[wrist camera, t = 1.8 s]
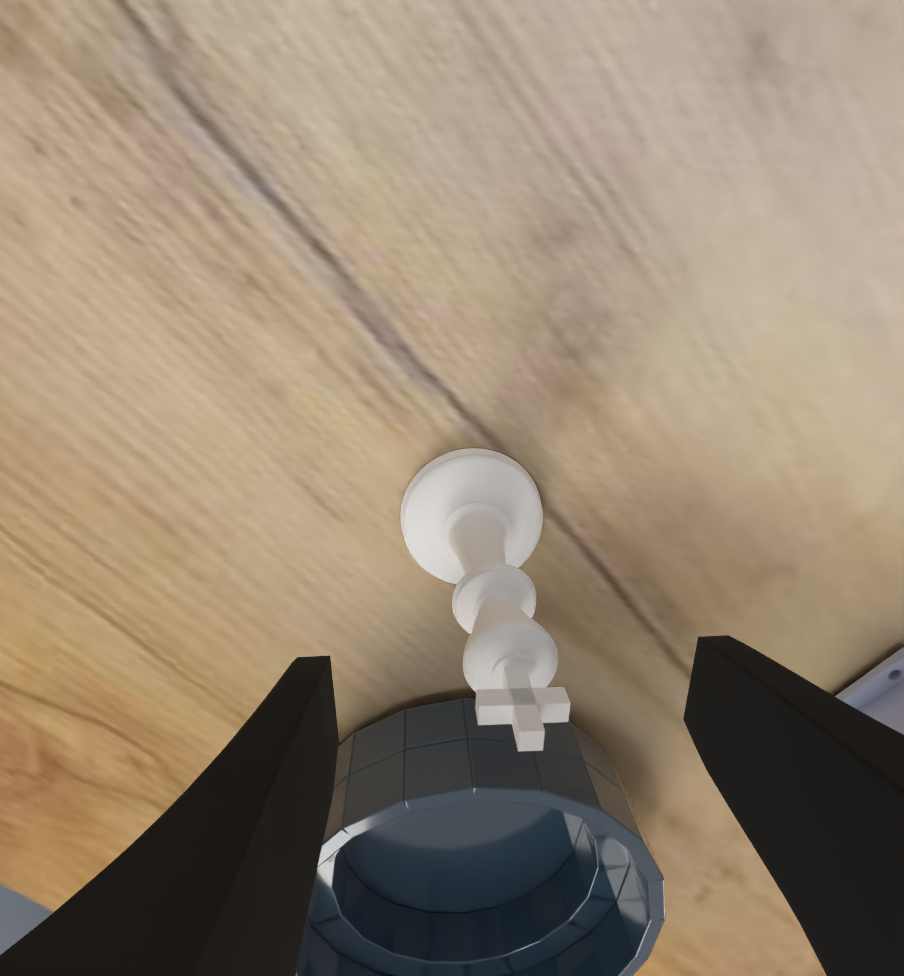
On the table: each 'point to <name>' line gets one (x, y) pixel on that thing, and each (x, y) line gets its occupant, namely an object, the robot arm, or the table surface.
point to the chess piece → (489, 582)
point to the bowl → (479, 855)
